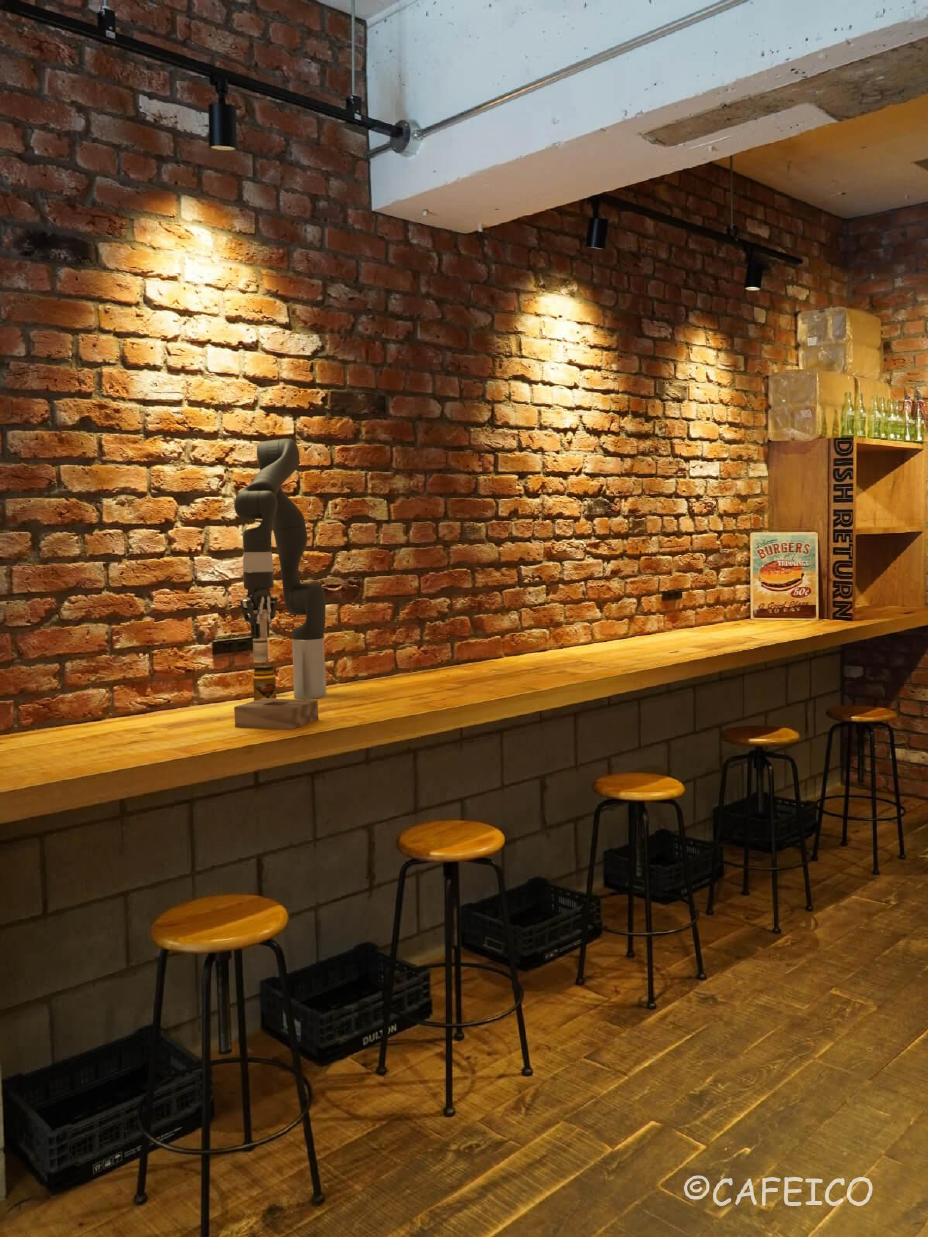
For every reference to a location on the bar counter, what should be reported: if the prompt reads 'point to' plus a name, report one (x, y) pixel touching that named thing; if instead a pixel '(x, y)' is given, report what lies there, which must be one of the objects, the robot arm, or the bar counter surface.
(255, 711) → the wooden block with hole
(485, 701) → the bar counter surface
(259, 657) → the peg
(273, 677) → the condiment
